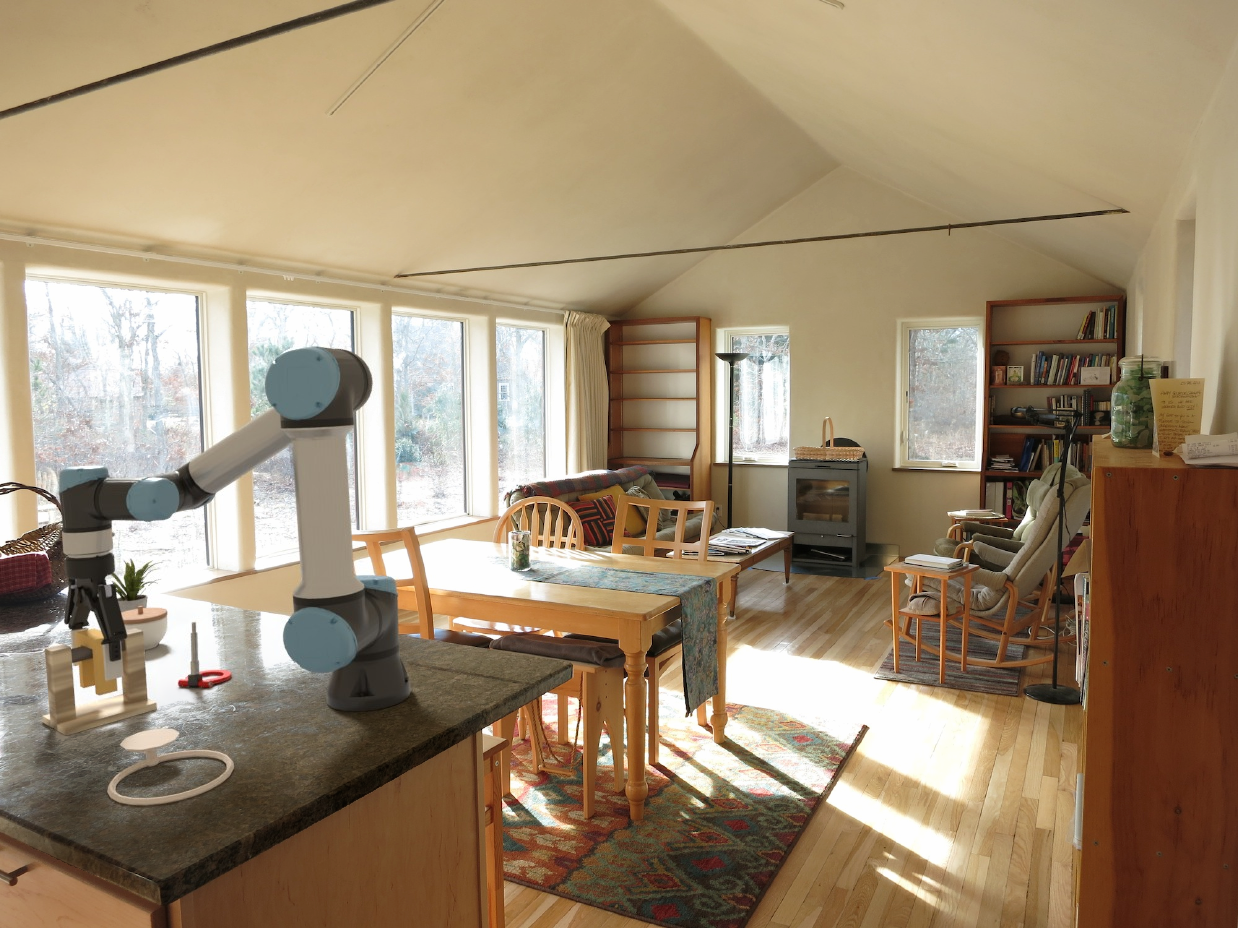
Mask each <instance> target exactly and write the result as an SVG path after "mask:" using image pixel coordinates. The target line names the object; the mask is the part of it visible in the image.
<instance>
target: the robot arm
mask: <svg viewBox="0 0 1238 928" xmlns="http://www.w3.org/2000/svg"><path fill="white" fill-rule="evenodd" d="M373 384H374V382H373V376H372V372H371V369H370V368H369V365H368V364H367V363H366V362H365V361H364V359H363V358H361V356H359V355H358V354H356V353H355V352H353V351H350V350H347V349H342V348H331V347H325V346H323V347H322V346H318V345H317V346H316V345H314V346H313V345H306V346H299V347H298V346H297V347H293V348H290V349H289V348H288V349H287V350H285V351H283V352H282V353H280V354H278V356H277V357H275V360H274V361H272V362H271V364H270V366H269V368H268V369H267V372H266V375H265V380H264V391H265V396H266V399H267V400H268V403H269V404H270V406H271V407H270V408H268V409H267V410H265V411H264V412H263V413H261V414H259V415H258V416H256V417H255V418H253V419H252V420H250V421H249V422H247V423H246V424H244V425H243V426H241V427H240V428H238V429H236V430H235V431H233V432H232V433H230V434H229V435H228V436H226V437H224V438H223V439H221V440H220V441H218V442H217V443H215V444H214V445H212V446H211V447H209V448H208V449H206V450H205V451H202V452H201V453H200V454H198V455H197V456H195V457H193V458H192V459H191V460H190V461H188V462H187V463H185V464H184V465H182V466H181V467H179V468H177V469H176V470H173V471H168V472H163V473H158V474H151V475H144V476H138V477H137V476H136V477H111V475H110V474H109V469H108V468H107V466H105V465H81V466H68V467H65V468H63V469H61V471H59V475H58V476H59V477H58V480H59V481H58V485H59V487H58V496H59V502H60V503H59V504H60V512H61V521H62V531H61V534H62V535H61V537H62V549H63V551H62V552H63V554H65V555H67V556H66V557H65V558H64V571H65V577H66V578H67V582H68V583H67V585H68V586H67V587H68V591H67V596H66V597H67V598H66V602H65V603H66V604H65V612H64V617H63V622H64V625H67V626H68V629H69V630H70V642H71V643H70V644H71V645H70V646H71V649H73V648H77V634H76V632H80V631H85V630H89V627H88V626H90V622H89V620H88V618H89V616H90V613H91V612H92V613H94V616H95V619H96V621H97V624H98V626H99V627H98V628H99V630H100V631H101V632H102V635H103V637H104V640H103V641H102V642H101V645H103V658H104V672H105V680H106V681H108V680H112V679H116V678H117V679H119V678H122V677H123V662H122V648H121V641H122V640H123V639H126V638H127V632H126V629H125V625H124V621H123V618H122V614H121V610H120V606H119V603H118V599H117V598H118V596H117V594H118V593H117V592H116V589H117V588H116V586H115V584H113V583H110V584H109V583H107V579H106V578H107V576H109V575H110V576H112V575H111V574H113V573H115V571H116V564H115V553H113V552H112V550H113V549H114V540H113V538H114V537H115V535H116V533H115V532H114V531H113V521H125V522H126V521H130V522H131V521H132V522H133V521H134V522H138V521H139V522H145V523H151V522H156V521H158V522H159V521H166V520H168V519H170V518H171V517H172V516H173V515H174V514H176V513H180V512H184V511H185V512H186V511H188V510H189V511H191V510H197V509H199V508H201V507H204V506H207V505H209V503H211V502H212V501H213V500H214V498H215V497H216V494H218V493H219V492H220V491H221V490H223V489H225V488H226V487H228V486H229V485H231V484H232V483H234V482H235V481H237V480H239V479H240V478H241V477H243V476H245V475H247V474H248V473H250V472H251V471H252V470H254V469H256V468H257V467H259V466H260V465H262V464H264V463H266V462H267V461H268V460H270V459H271V458H273V457H275V456H276V455H277V454H279V453H281V452H283V450H285V449H287V448H288V447H290V446H291V448H292V464H293V466H292V467H293V477H294V491H295V493H294V494H295V506H296V508H295V509H296V522H297V523H296V524H297V537H298V550H299V551H298V553H299V566H300V568H299V569H300V583H298V585H297V586H296V587H295V589H293V590H292V602H293V603H292V604H293V605H292V606H293V613H292V614H291V615H290V616H289V618H288V620H287V621H286V622H285V625H284V628H283V633H282V641H283V645H284V649H285V652H286V653H287V655H288V657H289V658H290V659H291V661H293V662H294V663H296V664H297V665H298V666H299V667H300V668H302V669H304V670H305V671H308V672H310V673H314V674H327V673H330V677H329V681H328V685H327V687H326V694H325V695H326V704H327V705H328V706H329V707H331V708H332V709H335V710H338V711H339V710H340V711H346V712H367V711H375V710H380V709H384V708H385V709H386V708H388V707H392V706H395V705H397V704H399V703H402V702H403V701H406V700H407V699H408V697H410V695H411V681H410V677H409V675H408V673H407V670H406V666H405V664H404V663H403V659H402V657H401V653H400V635H399V633H400V631H399V605H398V604H399V600H398V597H399V593H398V587H397V582H396V579H394V577H392V576H389V575H379V574H373V575H372V574H371V575H370V574H368V575H365V574H364V575H363V574H362V575H361V574H360V575H359V574H358V575H355V566H354V550H353V535H352V520H351V519H352V517H351V503H350V501H351V500H350V486H349V484H350V483H349V472H348V469H349V468H348V456H347V455H348V454H347V439H346V438H347V435H348V434H349V433H350V432H351V431H352V430H354V428H355V418H354V415H355V414H354V413H356V412H357V411H359V410H361V408H362V407H363V406H365V405H366V403H367V401H368V400H369V399H370V397H371V393H372V391H373V386H374V385H373ZM76 666H77V667H79V662H75V663H72V667H76Z"/></svg>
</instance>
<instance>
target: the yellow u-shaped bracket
mask: <svg viewBox="0 0 1238 928" xmlns="http://www.w3.org/2000/svg"><path fill="white" fill-rule="evenodd" d="M76 634H77V647H82V646H85V647H88V648H90V649H92V650H93V658H92V659H88V660H83V661H79V665H78V672H79V673H78V674H79V675H78V676H79V687H81V688H82V689H86V688H90V687H94V689H95V692H94V693H95V695H97V696H102V695H103V696H104V695H106V694H111V693H114V692H118V681H117V680H118V678H116V679H112V680H108V681H106V680H105V672H104V658H103V645H101V642H102V641H103V640H104V637H103V635H102V632H101V629H97V628H91V629H88V630H85V631H80V632H76Z"/></svg>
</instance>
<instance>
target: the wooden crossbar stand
mask: <svg viewBox="0 0 1238 928" xmlns="http://www.w3.org/2000/svg"><path fill="white" fill-rule="evenodd" d="M126 632H127V638H126V639H123V640H122V641H121V648H122V662H123V677H121V686H122V689H121V690H122V693H120V694H119V695H113V696H109V697H107V698H103V699H99V700H96V701H92V702H89V703H85V704H81V705H80V704H79V705H78V706H76V696H75V683H74V682H75V681H74V670H73V663H75V662H79V661H83V660H88V659H92V658H93V650H92V649H90V648H88V647H85V646H82V647H77V648H73V649H72V646H71V645H70V646H69V645H67V644H65V643H63V644H59V645H54V646H50V647H45V648H44V658H45V670H46V671H45V672H46V682H47V695H48V696H47V697H48V709H49V713H48V714H44V715H42V716H41V717H42V724H45V725H47V726H48V727H50V728H52V729H53V728H54V729H53V730H55V731H57V732H58V733H61V734H62V735H64V736H70V735H72V734H76V733H79V732H83V731H87V730H89V729H94V728H97V727H100V726H104V725H107V724H110V723H114V722H116V721H117V722H118V721H121V720H124V719H127V718H131V717H134V716H137V715H141V714H145V713H147V712H148V713H149V712H151V711H156V710H157V708H158V704H157V701H154V700H151V699H149V698H148V687H147V686H148V684H147V673H146V672H147V670H146V669H147V668H146V655H145V654H146V653H145V650H144V637H143V631H142V630H139V629H136V628H135V629H131V630H126Z"/></svg>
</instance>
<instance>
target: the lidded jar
mask: <svg viewBox="0 0 1238 928" xmlns="http://www.w3.org/2000/svg"><path fill="white" fill-rule="evenodd" d="M121 614H122V618H123V621H124V625H125V629H126V630H131V629H135V628H136V629H139V630H142V631H143V637H144V651H145V650H146V651H147V650H152V649H154V648H156V647H158V646H159V643H160V642H161V641H162V640H163V639H164V637H165V635H166V633H167V628H168V610H167V609H166V608H163V607H146V608H143V606H138V609H134V610H129V611H125V612H121Z"/></svg>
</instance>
